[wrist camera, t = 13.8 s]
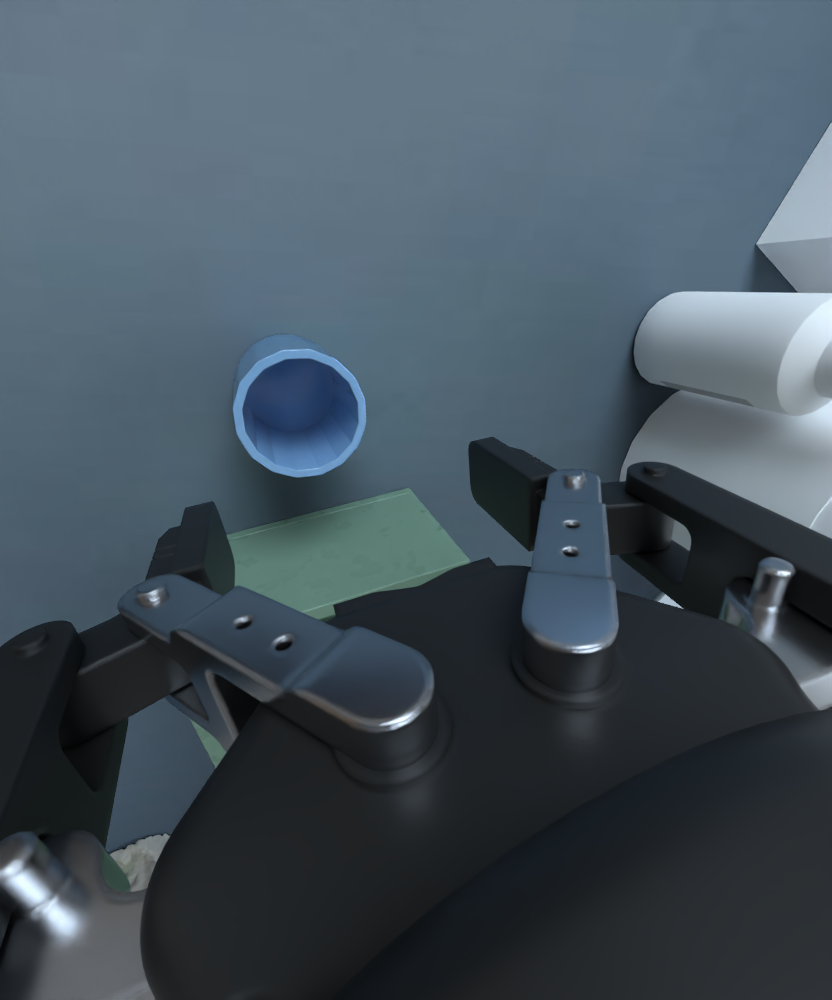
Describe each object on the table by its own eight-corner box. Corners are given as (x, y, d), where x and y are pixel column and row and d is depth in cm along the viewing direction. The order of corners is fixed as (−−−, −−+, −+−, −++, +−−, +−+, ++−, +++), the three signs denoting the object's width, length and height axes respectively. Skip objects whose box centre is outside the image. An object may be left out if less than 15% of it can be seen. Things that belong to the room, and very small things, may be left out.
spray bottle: (657, 400, 38) (946, 478, 22) (616, 348, 34) (923, 399, 19) (714, 331, 37) (1057, 363, 21) (677, 270, 33) (1053, 257, 18)
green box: (238, 681, 35) (238, 814, 26) (181, 545, 29) (157, 657, 20) (426, 618, 39) (481, 715, 30) (409, 487, 33) (470, 559, 24)
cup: (223, 417, 27) (218, 458, 21) (250, 317, 25) (254, 327, 19) (320, 445, 30) (342, 489, 23) (350, 356, 28) (383, 377, 22)
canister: (617, 564, 44) (852, 738, 27) (617, 410, 37) (945, 518, 20) (744, 508, 47) (1027, 632, 30) (769, 354, 40) (1167, 406, 23)
